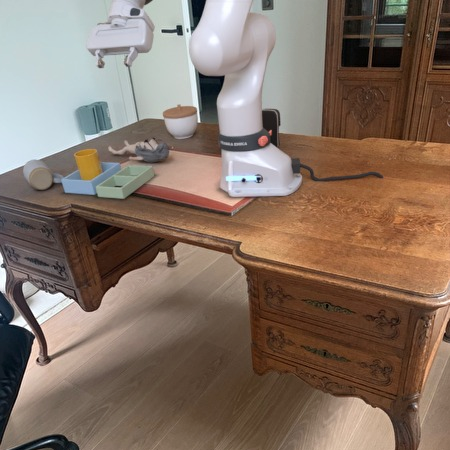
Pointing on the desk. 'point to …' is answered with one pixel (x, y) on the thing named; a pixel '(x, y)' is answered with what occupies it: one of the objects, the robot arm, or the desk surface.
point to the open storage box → (79, 186)
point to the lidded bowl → (181, 121)
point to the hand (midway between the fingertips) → (113, 66)
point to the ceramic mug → (40, 175)
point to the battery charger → (272, 124)
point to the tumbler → (88, 164)
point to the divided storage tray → (125, 181)
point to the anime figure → (145, 151)
